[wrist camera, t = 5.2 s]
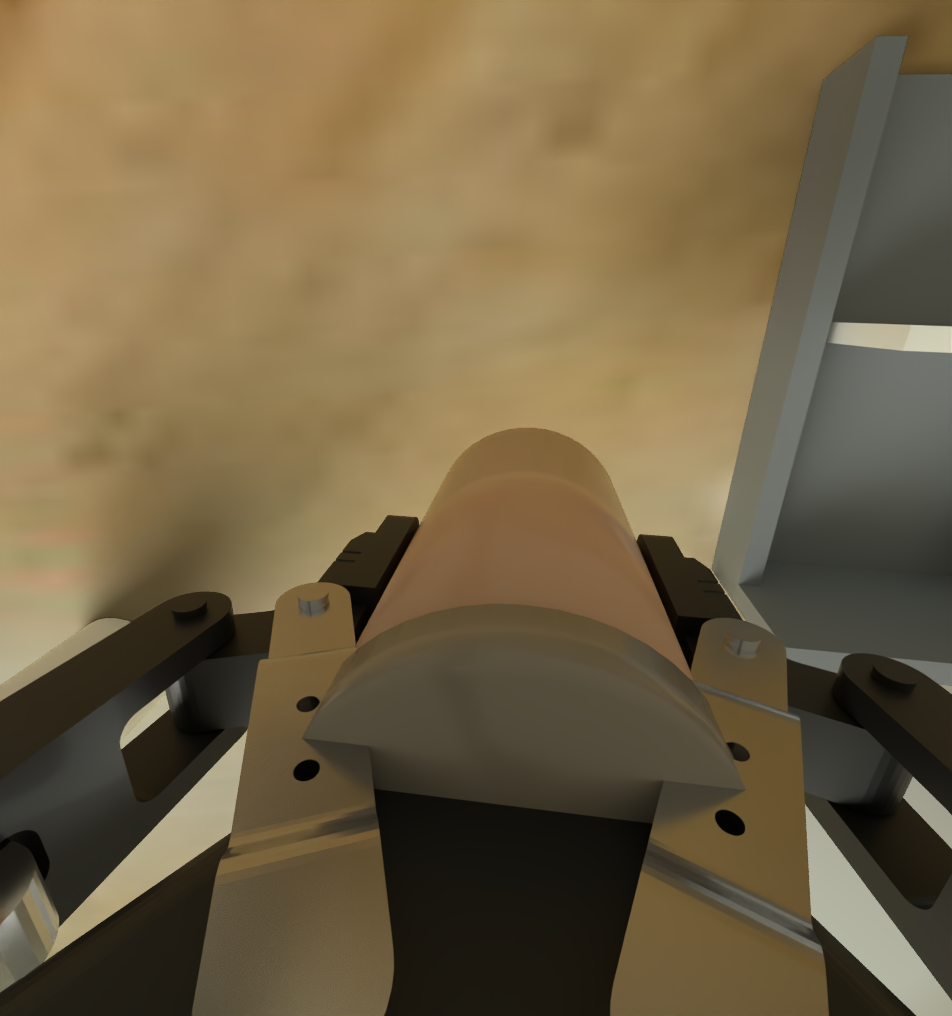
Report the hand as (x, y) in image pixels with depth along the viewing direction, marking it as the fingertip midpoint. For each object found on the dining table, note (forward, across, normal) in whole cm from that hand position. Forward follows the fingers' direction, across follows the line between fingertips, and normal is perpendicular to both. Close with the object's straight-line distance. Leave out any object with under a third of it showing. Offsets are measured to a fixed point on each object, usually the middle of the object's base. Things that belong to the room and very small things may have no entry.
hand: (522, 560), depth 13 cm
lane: (+15, -17, -4) cm, 23 cm away
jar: (+3, 0, 0) cm, 3 cm away
